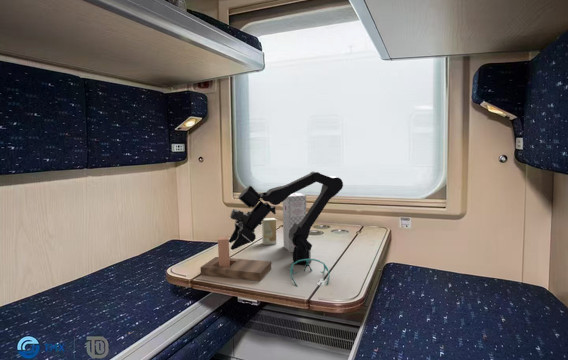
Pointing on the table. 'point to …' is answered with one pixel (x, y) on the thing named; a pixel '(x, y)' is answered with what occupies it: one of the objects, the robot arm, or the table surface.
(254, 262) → the wooden peg hole board
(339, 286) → the table surface
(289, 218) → the box
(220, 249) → the terracotta peg block
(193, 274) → the table surface
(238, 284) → the table surface
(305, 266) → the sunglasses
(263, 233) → the skincare box
